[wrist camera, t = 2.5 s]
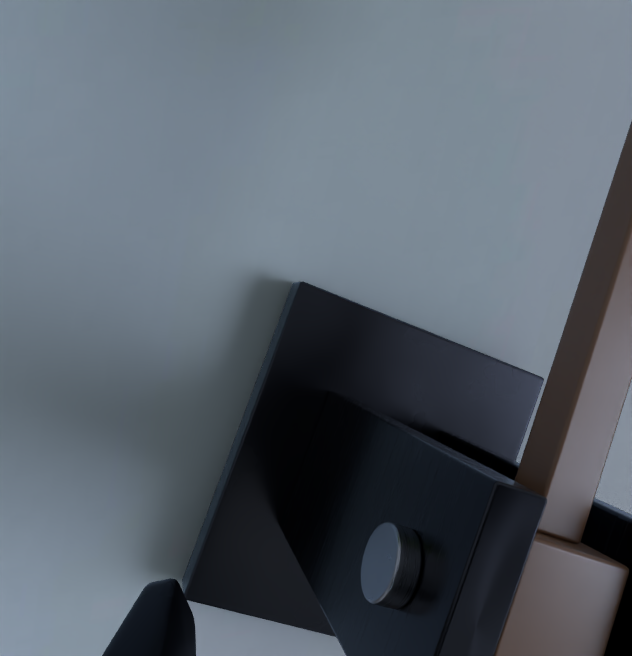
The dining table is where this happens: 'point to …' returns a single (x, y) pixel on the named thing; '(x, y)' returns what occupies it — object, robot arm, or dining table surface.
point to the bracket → (382, 490)
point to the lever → (579, 451)
